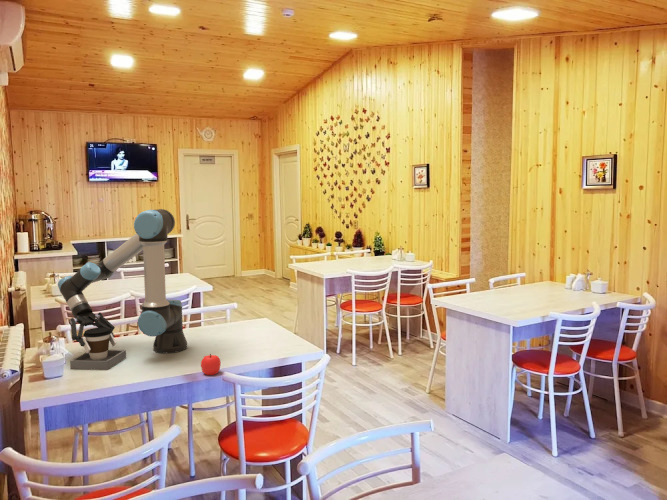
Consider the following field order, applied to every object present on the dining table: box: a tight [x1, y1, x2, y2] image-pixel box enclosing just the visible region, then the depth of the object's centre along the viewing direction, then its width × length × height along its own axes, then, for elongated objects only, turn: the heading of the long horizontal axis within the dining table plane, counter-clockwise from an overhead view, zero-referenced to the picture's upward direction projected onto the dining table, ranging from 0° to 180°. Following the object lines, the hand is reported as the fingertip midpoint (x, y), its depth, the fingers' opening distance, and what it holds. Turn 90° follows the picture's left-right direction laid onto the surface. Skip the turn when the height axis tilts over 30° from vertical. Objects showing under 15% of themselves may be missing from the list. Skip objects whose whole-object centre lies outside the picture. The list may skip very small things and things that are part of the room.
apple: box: [200, 353, 221, 376], centre depth 216 cm, size 8×8×8 cm
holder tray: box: [69, 349, 127, 371], centre depth 231 cm, size 16×16×4 cm
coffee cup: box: [82, 327, 111, 360], centre depth 230 cm, size 11×11×12 cm
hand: (102, 347), depth 229 cm, fingers open, 11 cm apart
